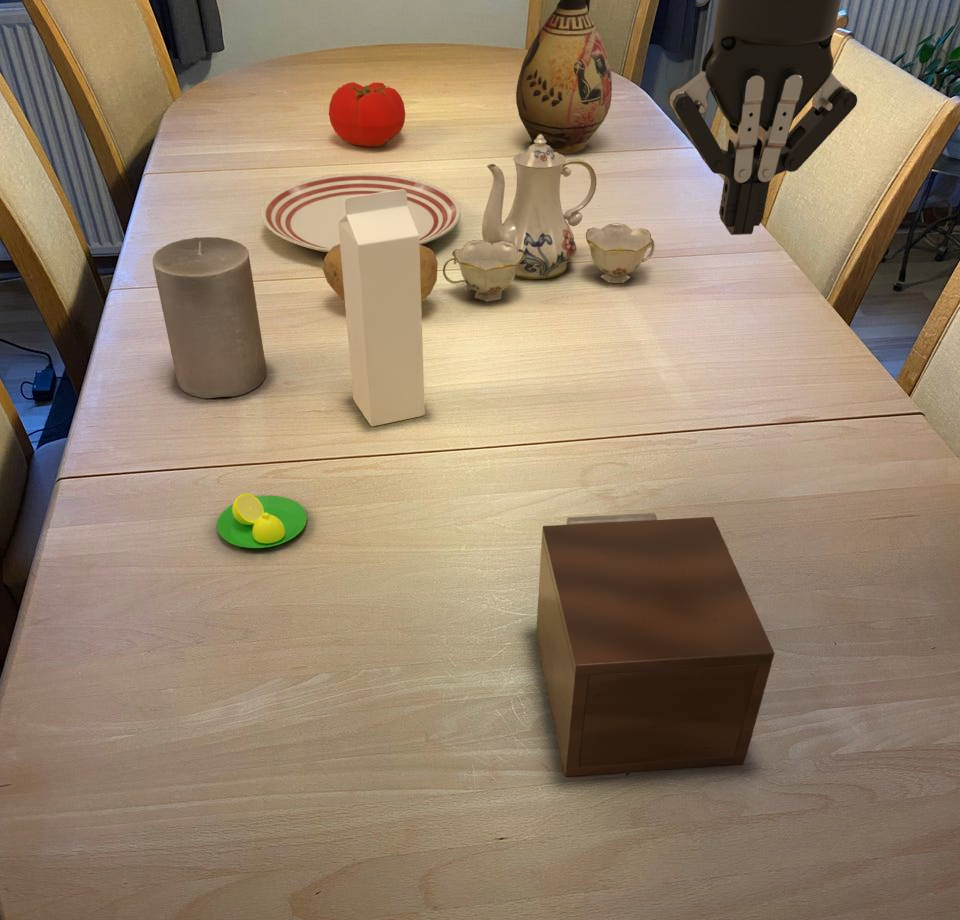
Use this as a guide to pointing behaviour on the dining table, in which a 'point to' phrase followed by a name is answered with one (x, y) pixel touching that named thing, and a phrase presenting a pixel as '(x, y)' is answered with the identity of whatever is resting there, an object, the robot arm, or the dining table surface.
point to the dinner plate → (321, 205)
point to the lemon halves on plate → (261, 521)
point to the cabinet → (648, 646)
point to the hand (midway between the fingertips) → (738, 230)
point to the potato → (335, 275)
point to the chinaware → (541, 230)
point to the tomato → (366, 113)
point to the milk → (383, 306)
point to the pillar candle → (211, 316)
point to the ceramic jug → (565, 80)
